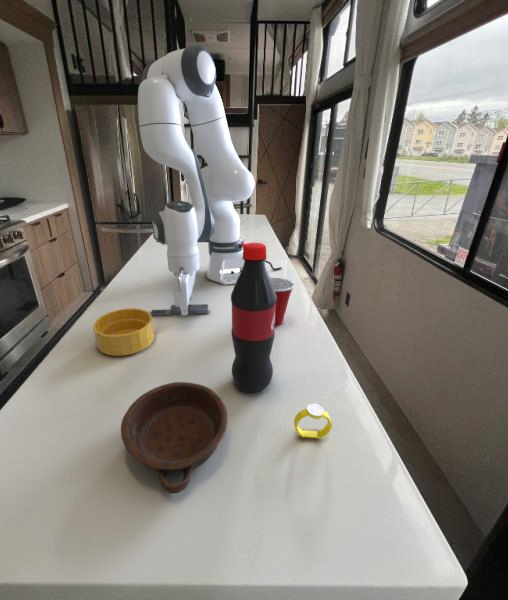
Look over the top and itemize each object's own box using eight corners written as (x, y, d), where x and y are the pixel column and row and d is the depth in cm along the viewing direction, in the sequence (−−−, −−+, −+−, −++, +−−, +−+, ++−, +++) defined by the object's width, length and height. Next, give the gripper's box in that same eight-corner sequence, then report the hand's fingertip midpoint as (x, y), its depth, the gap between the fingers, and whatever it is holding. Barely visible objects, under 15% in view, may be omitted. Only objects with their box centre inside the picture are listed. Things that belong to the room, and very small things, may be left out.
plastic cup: (296, 316, 94) (299, 277, 89) (286, 334, 85) (289, 292, 80) (260, 309, 98) (261, 272, 93) (247, 326, 89) (248, 286, 84)
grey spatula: (208, 310, 98) (208, 303, 97) (208, 314, 96) (207, 307, 95) (152, 311, 98) (151, 304, 97) (150, 315, 96) (149, 308, 95)
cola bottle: (275, 374, 71) (283, 239, 57) (267, 400, 63) (274, 253, 50) (238, 366, 73) (238, 236, 60) (226, 391, 66) (223, 249, 53)
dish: (111, 507, 45) (105, 484, 43) (136, 397, 65) (132, 377, 63) (235, 495, 46) (235, 472, 44) (222, 390, 66) (222, 371, 64)
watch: (294, 441, 55) (297, 415, 52) (292, 428, 57) (294, 402, 54) (330, 442, 54) (335, 416, 52) (326, 429, 57) (330, 403, 54)
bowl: (159, 326, 90) (156, 307, 88) (148, 357, 77) (145, 335, 75) (108, 327, 90) (104, 308, 88) (89, 358, 77) (84, 337, 75)
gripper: (191, 275, 81) (193, 324, 87) (198, 251, 99) (200, 292, 105) (165, 276, 81) (170, 324, 87) (177, 252, 99) (180, 293, 105)
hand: (186, 306), depth 96 cm, fingers open, 8 cm apart
